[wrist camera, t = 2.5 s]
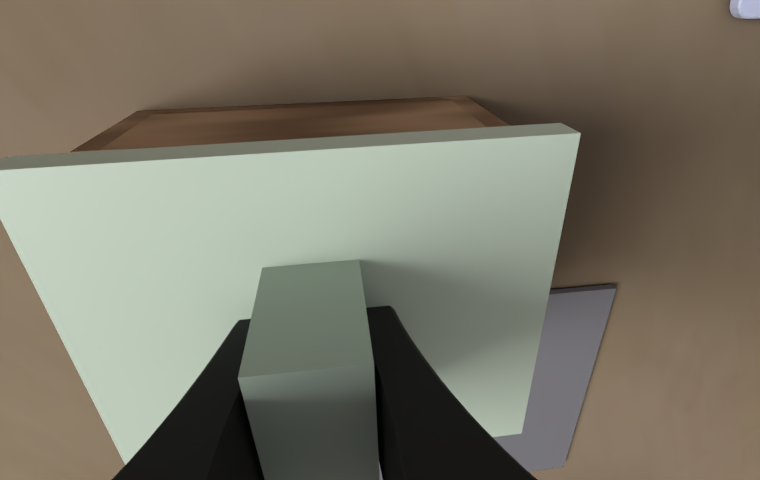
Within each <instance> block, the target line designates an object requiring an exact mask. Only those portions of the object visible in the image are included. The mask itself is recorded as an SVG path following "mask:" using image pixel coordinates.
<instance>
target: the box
mask: <svg viewBox="0 0 760 480" xmlns="http://www.w3.org/2000/svg"><path fill="white" fill-rule="evenodd" d="M500 126H510V125H509V124H507V123H506V122H504V121H503V120H501V119H500V118H498V117H497V116H495V115H494V114H492V113H491V112H489V111H487V110H486V109H484V108H483V107H481V106H480V105H478V104H477V103H475V102H474V101H472V100H471V99H469V98H468V97H466V96H454V97H433V98H411V99H389V100H368V101H346V102H324V103H303V104H281V105H259V106H237V107H216V108H194V109H172V110H151V111H137V112H135V113H133V114H132V115H130V116H128V117H127V118H125V119H123V120H122V121H120V122H118V123H117V124H115V125H114V126H112V127H110V128H109V129H107V130H105V131H104V132H102V133H100V134H99V135H97V136H95V137H94V138H92V139H90V140H89V141H87V142H85V143H84V144H82V145H81V146H79V147H77V148H76V149H74V150H72V151H71V152H70V153H77V152H94V151H110V150H126V149H142V148H159V147H175V146H191V145H208V144H224V143H240V142H256V141H273V140H289V139H305V138H321V137H338V136H354V135H370V134H386V133H403V132H419V131H435V130H451V129H468V128H484V127H500Z"/></svg>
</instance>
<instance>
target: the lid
mask: <svg viewBox="0 0 760 480" xmlns="http://www.w3.org/2000/svg"><path fill="white" fill-rule="evenodd" d="M580 135H581V133H580V132H578V131H576V130H574V129H572V128H570V127H568V126H566V125H564V124H562V123H549V124H533V125H516V126H500V127H484V128H468V129H451V130H435V131H419V132H403V133H386V134H370V135H354V136H338V137H321V138H305V139H289V140H273V141H256V142H240V143H224V144H208V145H191V146H175V147H159V148H142V149H126V150H110V151H94V152H77V153H61V154H45V155H29V156H12V157H5V158H3V159H1V160H0V219H1V221H2V223H3V225H4V227H5V229H6V231H7V233H8V235H9V237H10V239H11V241H12V243H13V245H14V247H15V249H16V251H17V253H18V255H19V257H20V259H21V261H22V262H23V264H24V266H25V268H26V270H27V272H28V274H29V276H30V278H31V280H32V282H33V284H34V286H35V288H36V290H37V292H38V294H39V296H40V298H41V300H42V302H43V304H44V306H45V308H46V310H47V312H48V314H49V316H50V318H51V320H52V322H53V323H54V325H55V327H56V329H57V331H58V333H59V335H60V337H61V339H62V341H63V343H64V345H65V347H66V349H67V351H68V353H69V355H70V357H71V359H72V361H73V363H74V365H75V367H76V369H77V371H78V373H79V375H80V377H81V379H82V381H83V383H84V384H85V386H86V388H87V390H88V392H89V394H90V396H91V398H92V400H93V402H94V404H95V406H96V408H97V410H98V412H99V414H100V416H101V418H102V420H103V422H104V424H105V426H106V428H107V430H108V432H109V434H110V436H111V438H112V440H113V442H114V443H115V445H116V447H117V449H118V451H119V453H120V455H121V457H122V459H123V461H124V463H125V465H126V464H127V463H128V462H129V461H130V459H131V458H132V457H133V456H134V455H135V454H136V453H137V452H138V450H139V449H140V448H141V447H142V446H143V445H144V444H145V443H146V441H147V440H148V439H149V438H150V437H151V435H152V434H153V433H154V432H155V431H156V429H157V428H158V427H159V426H160V424H161V423H162V422H163V421H164V420H165V418H166V417H167V416H168V415H169V414H170V412H171V411H172V410H173V409H174V408H175V406H176V405H177V404H178V403H179V401H180V400H181V399H182V397H183V396H184V395H185V394H186V392H187V391H188V390H189V388H190V387H191V386H192V384H193V383H194V382H195V380H196V379H197V378H198V376H199V375H200V374H201V372H202V371H203V370H204V368H205V367H206V365H207V364H208V363H209V361H210V360H211V358H212V357H213V356H214V354H215V353H216V351H217V350H218V348H219V347H220V346H221V344H222V343H223V341H224V340H225V338H226V337H227V335H228V334H229V332H230V331H231V330H232V328H233V327H234V325H235V324H236V323H237V322H238V321H239V320H243V319H251V321H250V325H249V330H248V334H247V339H246V343H245V348H244V352H243V357H242V361H241V366H240V370H239V375H238V381H239V384H240V388H241V392H242V396H243V400H244V403H245V407H246V411H247V415H248V419H249V422H250V426H251V430H252V434H253V438H254V441H255V445H256V449H257V453H258V457H259V460H260V464H261V468H262V472H263V476H264V479H265V480H380V475H379V455H378V435H377V414H376V394H375V374H374V360H373V353H372V346H371V339H370V332H369V325H368V318H367V311H366V308H368V307H378V306H389V305H390V306H391V307H392V308H393V309H395V312H396V314H397V316H398V317H399V319H400V321H401V323H402V325H403V326H404V328H405V329H406V331H407V333H408V334H409V336H410V337H411V339H412V340H413V342H414V343H415V345H416V346H417V348H418V349H419V351H420V352H421V353H422V355H423V356H424V358H425V359H426V360H427V362H428V363H429V364H430V366H431V367H432V368H433V370H434V371H435V372H436V374H437V375H438V376H439V377H440V379H441V380H442V381H443V382H444V384H445V385H446V386H447V387H448V389H449V390H450V391H451V392H452V393H453V395H454V396H455V397H456V398H457V399H458V400H459V402H460V403H461V404H462V405H463V406H464V407H465V409H466V410H467V411H468V412H469V413H470V414H471V415H472V416H473V417H474V419H475V420H476V421H477V422H478V423H479V424H480V425H481V426H482V427H483V428H484V429H485V430H486V431H487V432H488V433H489V434H490V435H491V436H492V437H498V436H506V435H514V434H522V429H523V424H524V419H525V414H526V409H527V404H528V398H529V393H530V388H531V383H532V378H533V373H534V368H535V363H536V358H537V353H538V348H539V343H540V338H541V333H542V328H543V323H544V318H545V313H546V307H547V302H548V297H549V292H550V287H551V282H552V277H553V272H554V267H555V262H556V257H557V252H558V247H559V242H560V237H561V232H562V227H563V221H564V216H565V211H566V206H567V201H568V196H569V191H570V186H571V181H572V176H573V171H574V166H575V161H576V156H577V151H578V146H579V141H580Z"/></svg>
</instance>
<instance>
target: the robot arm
mask: <svg viewBox="0 0 760 480" xmlns="http://www.w3.org/2000/svg"><path fill="white" fill-rule="evenodd" d="M730 12H731V14H732V15H733V16H734V17H735V18H740V19H758V18H760V0H731V2H730ZM366 311H367V318H368V325H369V332H370V339H371V346H372V353H373V360H374V374H375V394H376V414H377V435H378V455H379V464H380V468H381V473H382V478H383V480H537V479H536V478H535V477H533V476H532V475H531V474H530V473H529V472H528V471H527V470H526V469H525V468H524V467H523V466H522V465H520V464H519V463H518V462H517V461H516V460H515V459H514V458H513V457H512V456H511V455H510V454H509V453H508V452H507V451H506V450H505V449H504V448H503V447H502V446H501V445H500V444H499V443H498V442H497V441H496V440H495V439H494V438H493V437H492V436H491V435H490V434H489V433H488V432H487V431H486V430H485V429H484V428H483V427H482V426H481V425H480V424H479V423H478V422H477V421H476V420H475V419H474V417H473V416H472V415H471V414H470V413H469V412H468V411H467V410H466V409H465V407H464V406H463V405H462V404H461V403H460V402H459V400H458V399H457V398H456V397H455V396H454V395H453V393H452V392H451V391H450V390H449V389H448V387H447V386H446V385H445V384H444V382H443V381H442V380H441V379H440V377H439V376H438V375H437V374H436V372H435V371H434V370H433V368H432V367H431V366H430V364H429V363H428V362H427V360H426V359H425V358H424V356H423V355H422V353H421V352H420V351H419V349H418V348H417V346H416V345H415V343H414V342H413V340H412V339H411V337H410V336H409V334H408V333H407V331H406V329H405V328H404V326H403V325H402V323H401V321H400V319H399V317H398V316H397V314H396V312H395V309H393V308H392V307H391V306H390V305H389V306H378V307H368V308H366ZM250 321H251V319H243V320H239V321H238V322H237V323H236V324H235V325H234V327H233V328H232V330H231V331H230V332H229V334H228V335H227V337H226V338H225V340H224V341H223V343H222V344H221V346H220V347H219V348H218V350H217V351H216V353H215V354H214V356H213V357H212V358H211V360H210V361H209V363H208V364H207V365H206V367H205V368H204V370H203V371H202V372H201V374H200V375H199V376H198V378H197V379H196V380H195V382H194V383H193V384H192V386H191V387H190V388H189V390H188V391H187V392H186V394H185V395H184V396H183V397H182V399H181V400H180V401H179V403H178V404H177V405H176V406H175V408H174V409H173V410H172V411H171V412H170V414H169V415H168V416H167V417H166V418H165V420H164V421H163V422H162V423H161V424H160V426H159V427H158V428H157V429H156V431H155V432H154V433H153V434H152V435H151V437H150V438H149V439H148V440H147V441H146V443H145V444H144V445H143V446H142V447H141V448H140V449H139V450H138V452H137V453H136V454H135V455H134V456H133V457H132V458H131V459H130V461H129V462H128V463H127V464H126V465H125V466H124V467H123V468H122V469H121V470H120V471H119V473H118V474H117V475H116V476H115V477H114V478H113V479H112V480H265V479H264V476H263V472H262V468H261V464H260V460H259V457H258V453H257V449H256V445H255V441H254V438H253V434H252V430H251V426H250V422H249V419H248V415H247V411H246V407H245V403H244V400H243V396H242V392H241V388H240V384H239V381H238V375H239V370H240V366H241V361H242V357H243V352H244V348H245V343H246V339H247V334H248V330H249V325H250Z"/></svg>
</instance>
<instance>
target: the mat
mask: <svg viewBox="0 0 760 480" xmlns="http://www.w3.org/2000/svg"><path fill="white" fill-rule="evenodd" d="M616 289H617V288H616V287H615V286H614V285H613V284H609V285H599V286H588V287H577V288H566V289H555V290H550V292H549V297H548V302H547V307H546V313H545V318H544V323H543V328H542V333H541V338H540V343H539V348H538V353H537V358H536V363H535V368H534V373H533V378H532V383H531V388H530V393H529V398H528V404H527V409H526V414H525V419H524V424H523V429H522V434H514V435H506V436H498V437H493V438H494V439H495V440H496V441H497V442H498V443H499V444H500V445H501V446H502V447H503V448H504V449H505V450H506V451H507V452H508V453H509V454H510V455H511V456H512V457H513V458H514V459H515V460H516V461H517V462H518V463H519V464H520V465H522V466H523V467H524V468H525V469H526V470H527V471H528V472H530V471H538V470H545V469H553V468H560V467H564V464H565V461H566V458H567V454H568V451H569V448H570V444H571V441H572V437H573V434H574V431H575V427H576V424H577V420H578V417H579V414H580V410H581V407H582V404H583V400H584V397H585V393H586V390H587V387H588V383H589V380H590V377H591V373H592V370H593V366H594V363H595V360H596V356H597V353H598V350H599V346H600V343H601V339H602V336H603V333H604V329H605V326H606V323H607V319H608V316H609V312H610V309H611V306H612V302H613V299H614V295H615V292H616ZM379 475H380V480H383V478H382V473H381V468H380V464H379Z"/></svg>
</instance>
